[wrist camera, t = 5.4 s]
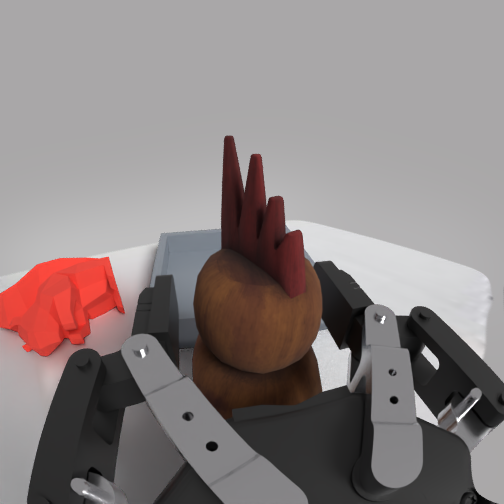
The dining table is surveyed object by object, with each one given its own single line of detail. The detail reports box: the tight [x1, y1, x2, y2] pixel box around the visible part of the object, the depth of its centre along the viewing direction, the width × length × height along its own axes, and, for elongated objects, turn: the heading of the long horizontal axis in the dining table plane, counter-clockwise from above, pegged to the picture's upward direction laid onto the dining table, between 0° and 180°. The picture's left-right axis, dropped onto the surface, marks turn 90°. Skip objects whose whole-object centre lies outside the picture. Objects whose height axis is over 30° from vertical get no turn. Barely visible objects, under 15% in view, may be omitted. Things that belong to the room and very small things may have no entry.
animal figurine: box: [0, 257, 125, 356], centre depth 19 cm, size 12×15×5 cm
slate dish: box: [150, 225, 327, 348], centre depth 26 cm, size 15×15×3 cm
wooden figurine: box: [192, 136, 322, 420], centre depth 11 cm, size 7×6×15 cm
